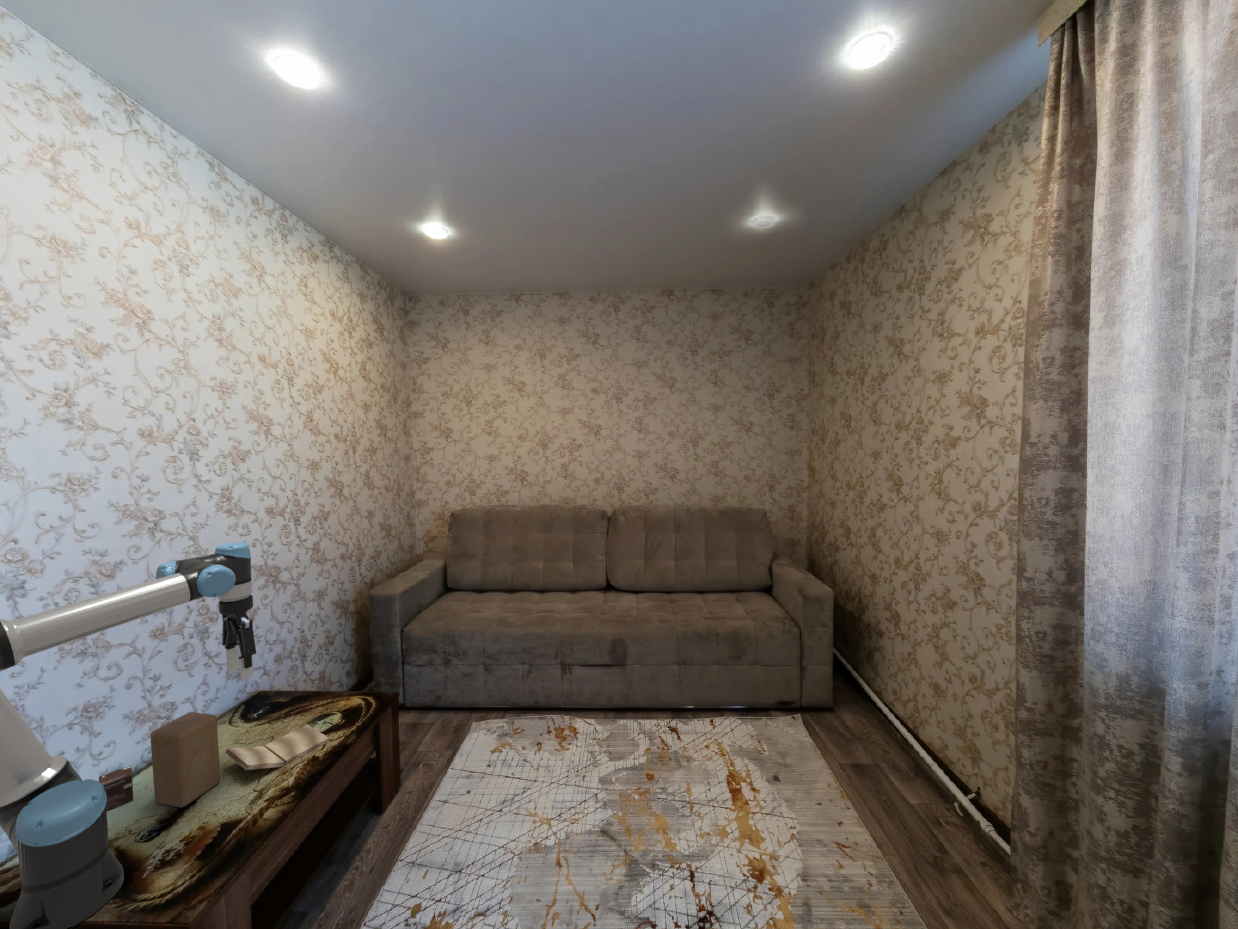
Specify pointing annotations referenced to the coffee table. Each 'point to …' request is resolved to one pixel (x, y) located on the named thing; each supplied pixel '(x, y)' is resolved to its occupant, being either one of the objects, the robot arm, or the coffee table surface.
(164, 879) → the coffee table surface
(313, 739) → the laid boards
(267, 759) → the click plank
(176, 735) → the wooden block
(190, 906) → the coffee table surface
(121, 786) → the box
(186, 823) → the coffee table surface
